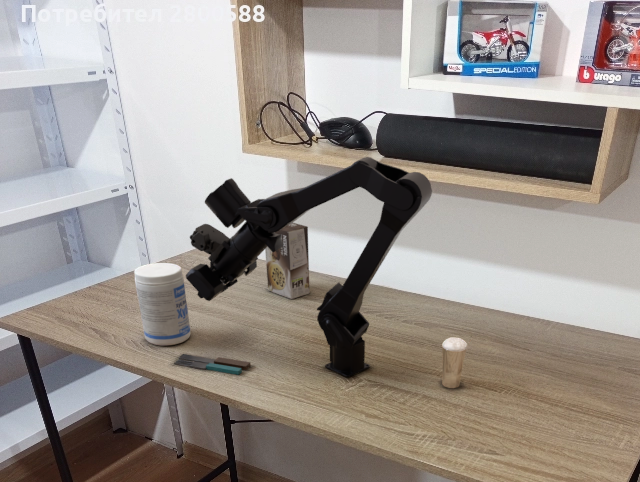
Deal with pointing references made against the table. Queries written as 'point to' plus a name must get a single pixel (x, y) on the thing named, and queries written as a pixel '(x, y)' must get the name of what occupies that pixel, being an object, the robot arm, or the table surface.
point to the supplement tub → (162, 303)
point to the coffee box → (289, 263)
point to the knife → (218, 361)
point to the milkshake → (453, 361)
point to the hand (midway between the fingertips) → (199, 296)
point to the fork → (209, 366)
